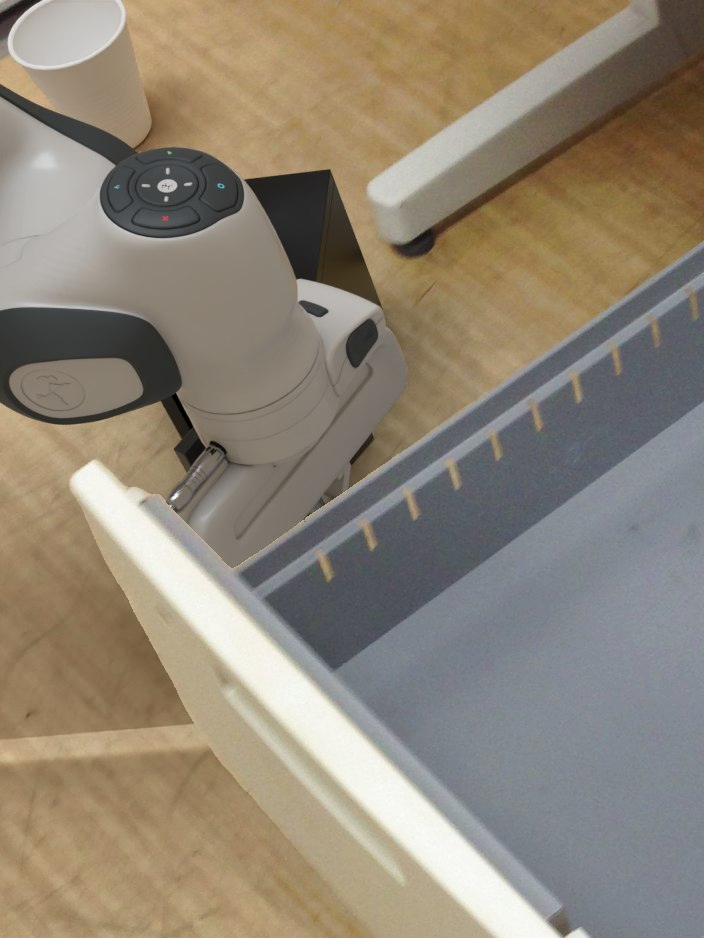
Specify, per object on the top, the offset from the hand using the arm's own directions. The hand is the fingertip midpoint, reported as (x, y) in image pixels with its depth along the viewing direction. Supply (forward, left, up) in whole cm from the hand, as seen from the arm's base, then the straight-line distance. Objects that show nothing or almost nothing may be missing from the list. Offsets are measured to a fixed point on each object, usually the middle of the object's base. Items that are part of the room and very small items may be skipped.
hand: (324, 530), depth 117 cm
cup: (-25, +50, -7) cm, 57 cm away
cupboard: (-7, +20, -7) cm, 23 cm away
